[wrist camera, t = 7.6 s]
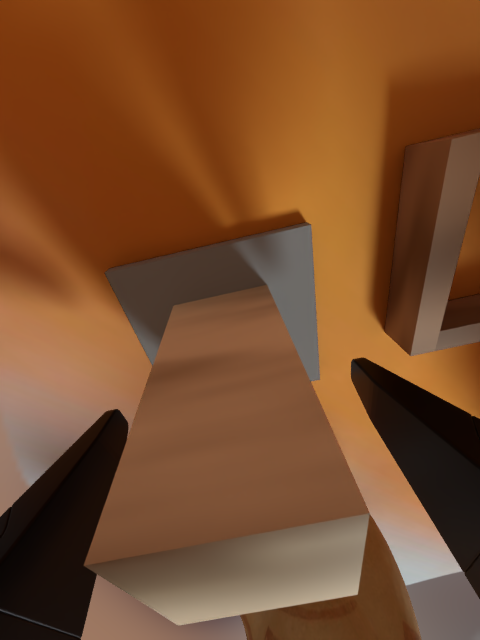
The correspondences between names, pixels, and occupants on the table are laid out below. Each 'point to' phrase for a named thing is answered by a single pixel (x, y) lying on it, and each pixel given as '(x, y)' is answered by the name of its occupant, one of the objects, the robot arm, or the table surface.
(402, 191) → the frame
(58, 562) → the robot arm
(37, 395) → the table surface
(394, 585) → the ceramic vessel
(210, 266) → the felt pad
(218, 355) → the maple block
